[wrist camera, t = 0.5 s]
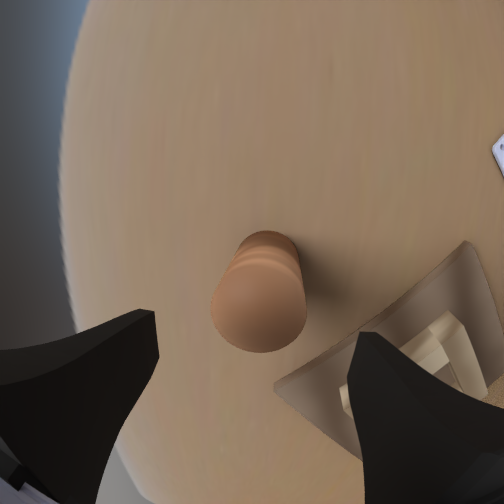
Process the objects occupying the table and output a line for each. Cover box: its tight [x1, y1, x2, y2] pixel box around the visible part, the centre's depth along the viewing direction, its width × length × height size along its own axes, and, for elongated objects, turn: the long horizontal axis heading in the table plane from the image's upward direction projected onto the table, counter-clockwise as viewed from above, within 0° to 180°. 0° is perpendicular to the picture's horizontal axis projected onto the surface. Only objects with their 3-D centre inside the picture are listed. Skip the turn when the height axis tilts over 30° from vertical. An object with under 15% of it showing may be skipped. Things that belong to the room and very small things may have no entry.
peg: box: [211, 231, 307, 353], centre depth 15 cm, size 4×4×7 cm
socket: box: [274, 241, 504, 461], centre depth 18 cm, size 18×16×4 cm
